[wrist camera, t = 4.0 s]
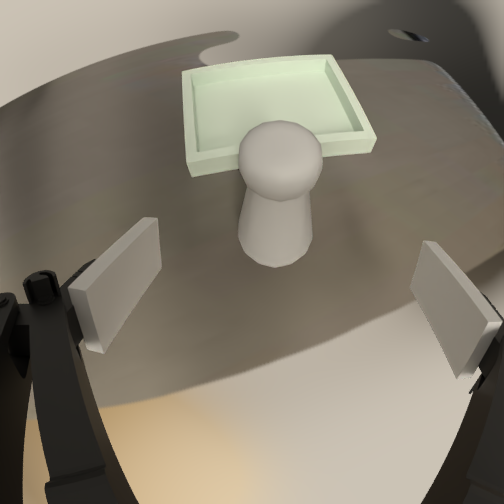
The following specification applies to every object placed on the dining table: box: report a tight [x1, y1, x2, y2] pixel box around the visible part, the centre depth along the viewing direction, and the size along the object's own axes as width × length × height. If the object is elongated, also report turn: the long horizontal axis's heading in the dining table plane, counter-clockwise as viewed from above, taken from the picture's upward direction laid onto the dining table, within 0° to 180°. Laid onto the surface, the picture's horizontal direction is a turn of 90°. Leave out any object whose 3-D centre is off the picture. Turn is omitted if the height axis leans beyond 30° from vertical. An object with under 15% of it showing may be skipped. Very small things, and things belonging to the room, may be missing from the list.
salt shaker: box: [238, 120, 323, 268], centre depth 20 cm, size 6×6×13 cm
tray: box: [182, 55, 377, 177], centre depth 30 cm, size 18×14×2 cm
